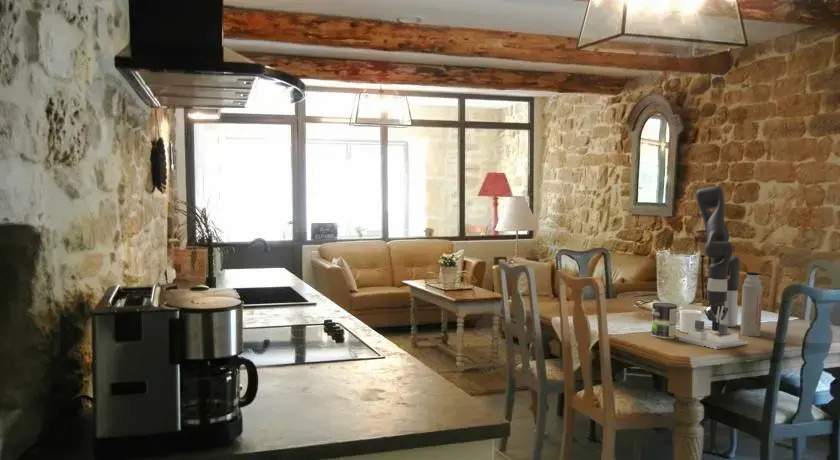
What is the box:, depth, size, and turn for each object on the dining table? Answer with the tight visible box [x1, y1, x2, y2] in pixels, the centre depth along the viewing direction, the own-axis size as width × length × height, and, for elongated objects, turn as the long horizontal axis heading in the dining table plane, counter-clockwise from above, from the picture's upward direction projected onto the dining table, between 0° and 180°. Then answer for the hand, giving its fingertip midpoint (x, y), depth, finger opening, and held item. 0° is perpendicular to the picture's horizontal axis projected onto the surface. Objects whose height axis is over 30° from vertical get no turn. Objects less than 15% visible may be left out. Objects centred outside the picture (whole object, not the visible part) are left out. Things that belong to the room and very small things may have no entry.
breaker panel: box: [678, 326, 748, 350], centre depth 283 cm, size 20×18×5 cm
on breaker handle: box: [695, 320, 705, 330], centre depth 285 cm, size 2×3×4 cm, turn 30°
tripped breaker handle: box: [718, 323, 729, 334], centre depth 279 cm, size 2×3×4 cm, turn 30°
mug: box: [676, 309, 702, 334], centre depth 305 cm, size 12×9×9 cm
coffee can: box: [650, 301, 678, 340], centre depth 294 cm, size 10×10×14 cm
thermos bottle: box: [740, 271, 763, 337], centre depth 299 cm, size 8×8×28 cm
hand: (715, 330), depth 277 cm, fingers closed
